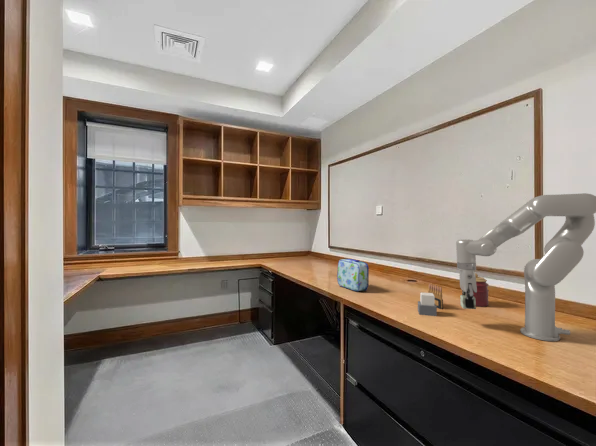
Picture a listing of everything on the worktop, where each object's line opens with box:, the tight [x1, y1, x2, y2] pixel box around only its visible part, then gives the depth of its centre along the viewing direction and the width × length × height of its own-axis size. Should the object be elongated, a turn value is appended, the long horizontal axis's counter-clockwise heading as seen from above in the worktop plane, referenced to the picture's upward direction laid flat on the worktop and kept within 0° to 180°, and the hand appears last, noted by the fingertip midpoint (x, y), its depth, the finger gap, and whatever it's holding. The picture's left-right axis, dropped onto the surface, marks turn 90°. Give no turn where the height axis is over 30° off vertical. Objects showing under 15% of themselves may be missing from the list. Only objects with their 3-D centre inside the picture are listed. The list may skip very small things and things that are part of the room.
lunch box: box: [336, 258, 370, 292], centre depth 201 cm, size 26×11×21 cm, turn 27°
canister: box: [473, 272, 489, 307], centre depth 164 cm, size 13×13×18 cm
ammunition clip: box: [427, 282, 444, 310], centre depth 159 cm, size 11×2×12 cm, turn 13°
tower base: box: [417, 300, 438, 317], centre depth 146 cm, size 8×8×5 cm
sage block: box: [459, 294, 477, 310], centre depth 130 cm, size 5×5×5 cm
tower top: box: [419, 292, 435, 306], centre depth 147 cm, size 6×6×5 cm
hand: (468, 305), depth 130 cm, fingers closed on sage block, 5 cm apart
